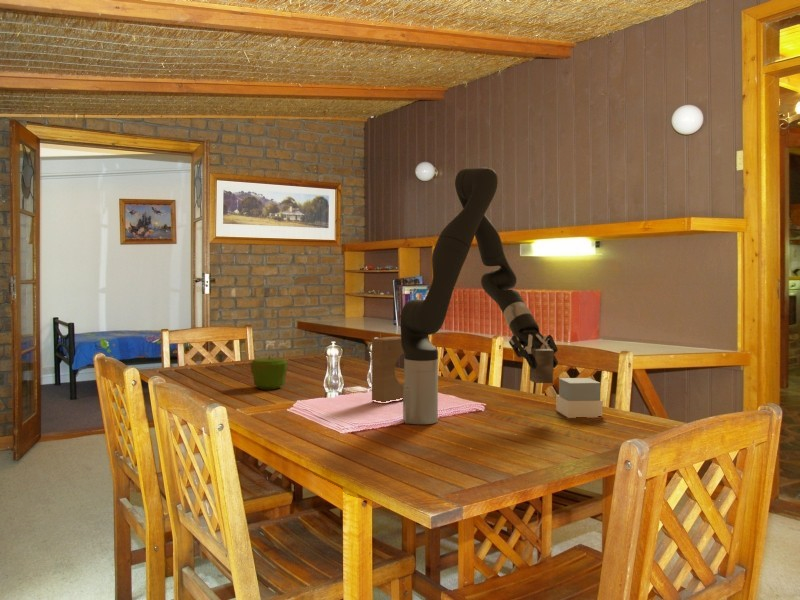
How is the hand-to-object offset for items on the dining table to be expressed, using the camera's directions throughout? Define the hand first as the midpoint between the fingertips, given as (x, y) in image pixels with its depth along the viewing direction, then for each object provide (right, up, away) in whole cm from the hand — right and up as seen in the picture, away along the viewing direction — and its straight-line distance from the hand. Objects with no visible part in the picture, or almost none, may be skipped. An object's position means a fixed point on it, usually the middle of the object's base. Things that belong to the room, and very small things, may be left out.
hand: (545, 366), depth 186 cm
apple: (-86, -13, +51) cm, 101 cm away
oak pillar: (-1, -4, +2) cm, 5 cm away
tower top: (+12, -10, +9) cm, 18 cm away
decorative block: (-43, -14, +28) cm, 53 cm away
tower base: (+12, -15, +9) cm, 21 cm away
